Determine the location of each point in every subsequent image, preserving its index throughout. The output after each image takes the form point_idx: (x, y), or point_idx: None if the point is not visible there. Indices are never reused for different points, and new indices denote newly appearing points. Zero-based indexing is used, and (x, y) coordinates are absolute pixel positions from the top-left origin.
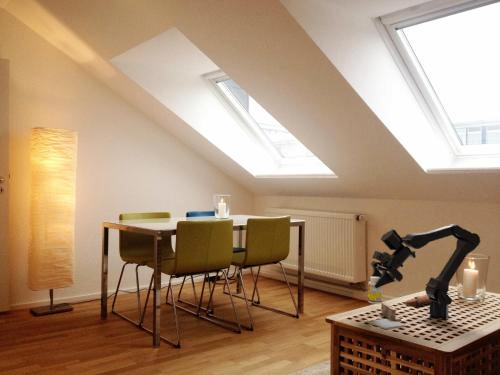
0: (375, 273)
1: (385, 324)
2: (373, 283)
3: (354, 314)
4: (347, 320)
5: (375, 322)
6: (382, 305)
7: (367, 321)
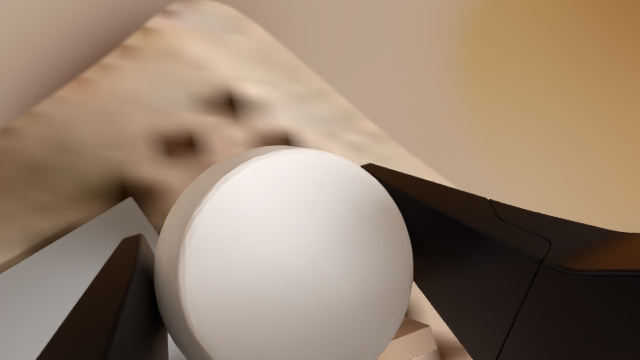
0: (540, 283)
1: (47, 320)
2: (174, 216)
3: (326, 146)
4: (171, 87)
5: (99, 250)
6: (405, 329)
7: (127, 199)
